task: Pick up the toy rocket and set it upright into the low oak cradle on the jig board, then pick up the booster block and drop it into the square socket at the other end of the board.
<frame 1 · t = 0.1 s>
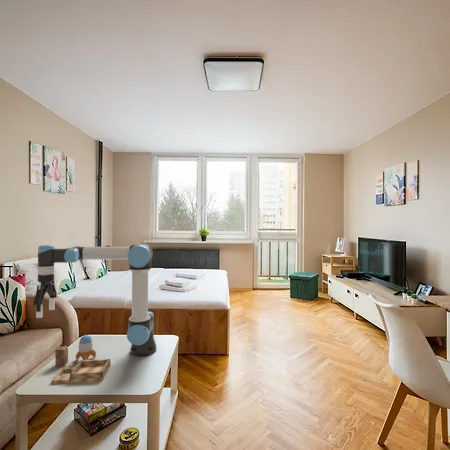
hand: (45, 313, 156), 28 cm above the table, fingers open, 13 cm apart
toy rocket: (83, 360, 162), on the table
booster block: (61, 364, 157), on the table
jig: (82, 374, 147), on the table
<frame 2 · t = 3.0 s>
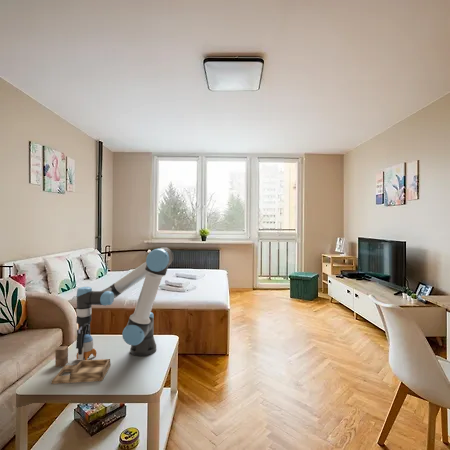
hand: (83, 356, 162), 2 cm above the table, fingers closed on toy rocket, 8 cm apart
toy rocket: (84, 359, 163), on the table, touching gripper
everything else where it was.
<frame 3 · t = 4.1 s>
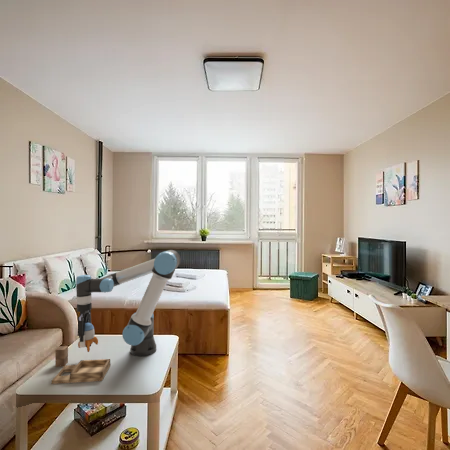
hand: (85, 344, 162), 9 cm above the table, fingers closed on toy rocket, 7 cm apart
toy rocket: (86, 348, 163), point 6 cm above the table, touching gripper
everything else where it was.
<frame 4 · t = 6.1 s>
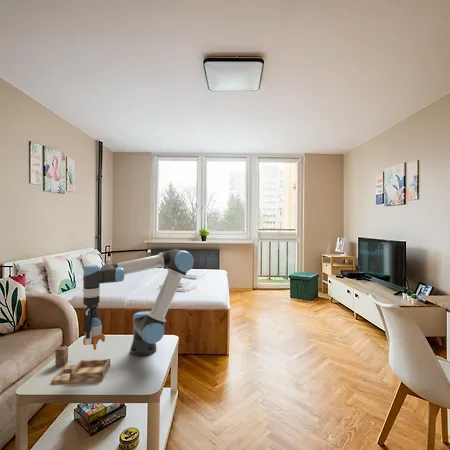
hand: (91, 341, 147), 17 cm above the table, fingers closed on toy rocket, 7 cm apart
toy rocket: (92, 345, 148), point 14 cm above the table, touching gripper
everything else where it was.
when the fingers open (6 cm above the table, at t = 8.4 s): toy rocket drops 2 cm, resting on jig.
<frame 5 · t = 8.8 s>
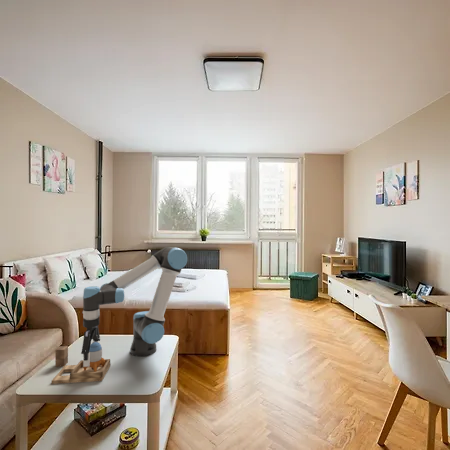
hand: (91, 359, 147), 7 cm above the table, fingers open, 13 cm apart
toy rocket: (92, 370, 148), point 1 cm above the table, touching jig
everything else where it was.
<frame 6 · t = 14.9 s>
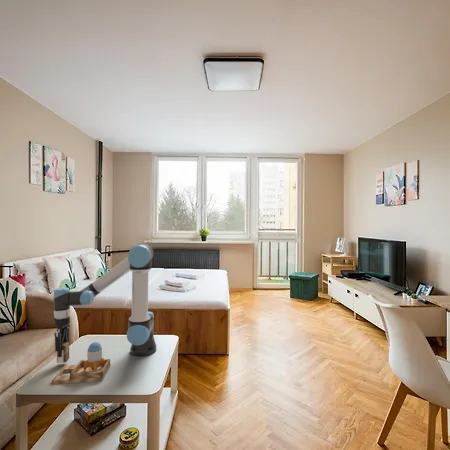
hand: (62, 360, 157), 2 cm above the table, fingers closed on booster block, 4 cm apart
booster block: (63, 360, 157), point 2 cm above the table, touching gripper
everything else where it was.
when the fingers open (3 cm above the table, at t = 19.6 s): booster block drops 2 cm, resting in jig.
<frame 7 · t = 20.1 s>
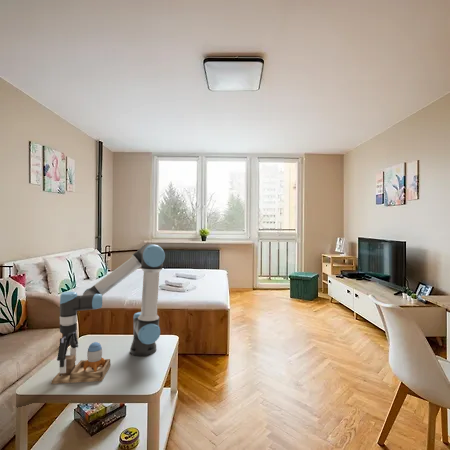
hand: (68, 366, 146), 4 cm above the table, fingers open, 12 cm apart
booster block: (68, 375, 146), resting in jig
everything else where it was.
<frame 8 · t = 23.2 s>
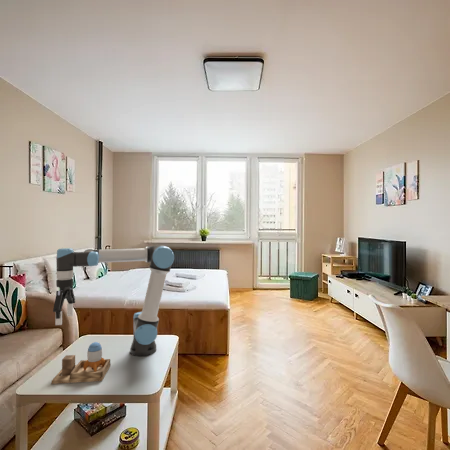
hand: (64, 320, 149), 27 cm above the table, fingers open, 13 cm apart
nothing on the table moved.
at the end: toy rocket inside the target area on the jig (1.0 cm from its centre), point 1.3 cm above the jig's base; toy rocket tilted 1°; booster block 0.2 cm from the target spot on the jig, point 0.0 cm above the jig's base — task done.
